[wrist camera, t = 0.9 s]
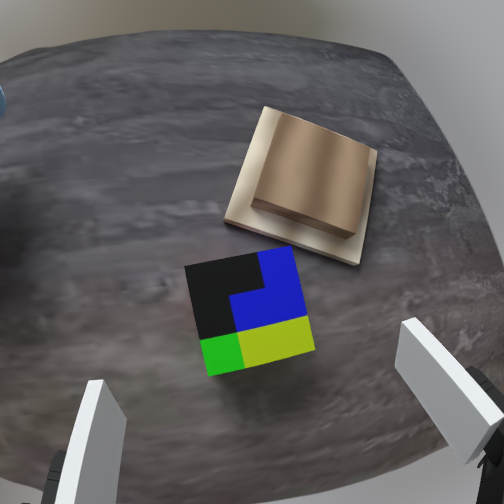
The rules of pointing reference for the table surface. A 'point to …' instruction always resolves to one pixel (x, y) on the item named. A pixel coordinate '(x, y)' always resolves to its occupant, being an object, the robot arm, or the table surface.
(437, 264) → the table surface
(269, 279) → the puzzle toy
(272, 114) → the build plinth
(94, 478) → the robot arm
